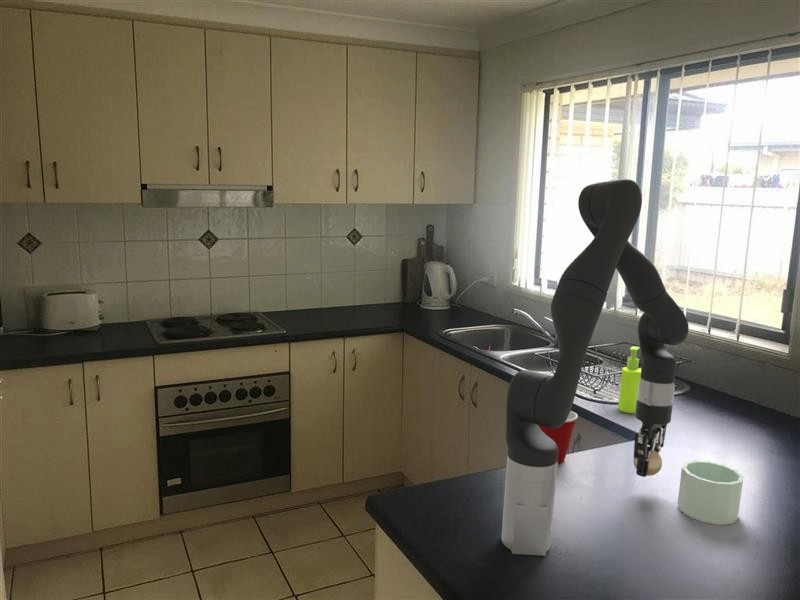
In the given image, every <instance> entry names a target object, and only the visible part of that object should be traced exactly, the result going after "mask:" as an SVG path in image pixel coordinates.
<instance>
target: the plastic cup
mask: <svg viewBox="0 0 800 600" xmlns="http://www.w3.org/2000/svg"><path fill="white" fill-rule="evenodd" d="M578 415H579V414H577V413H576V412H574V411H572V410H571V411H570V413H569V416H568V418H567V420H566V421H565V423H564V424H563V425H562V426H561V427H560V428H557V429H551V428H547V427H544V426H540V425H538V426H539V428H540V429H541V430H542V431H543V432H544V433H545V434H546V435H547V436H548V437H550V438H551V439H552V440H553V441H554V442H555V443H556V444H557V446H558V463H557V464H561V463H564V461H565V459H566V456H567V454H568V453H567V452H568V449H569V447H570V442H571V439H572V434H573V432H574V428H575V425H576V421H577V419H578V417H579V416H578Z"/></svg>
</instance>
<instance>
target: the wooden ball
mask: <svg viewBox="0 0 800 600" xmlns="http://www.w3.org/2000/svg"><path fill="white" fill-rule="evenodd" d="M658 453H659V452H658ZM658 453H657V452H656V451H655V450H654V451H652V452H651V454H650V458H649V464H648V472H647V476H646V477H648V476H649V477H651V476H655V475H657V474H658V473H659V472H660V471H661V470H662V467H663V460H662V457H661V455H660V453H659V454H658ZM641 454H643V451H642V452H641ZM637 461H638V459H637V458H634V457H633V466H634V468H635V470H637Z"/></svg>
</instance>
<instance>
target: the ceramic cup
mask: <svg viewBox="0 0 800 600" xmlns="http://www.w3.org/2000/svg"><path fill="white" fill-rule="evenodd" d="M680 471H681V472H680V478H679V487H678V489H679V490H678V497H677V507H678V509H679V510H681V511H682V512H683V513H682V512H681V511H680V512H681V513H682V514H683V515H685V516H687V517H688V516H689V518H690V517H691V519H692V518H693V520H695V519H696V520H695V521H697V520H698V522H701V523H704V522H705V524H708V523H709V524H708V525H714V526H715V525H716V526H729V525H732V523H733V524H735V523H736V522H738V517H739V515H740V506H741V499H742V491H743V484H744V478H745V477H744V476H743V474H741V473H740V472H739V471H738V470H736V469H734V468H732V467H731V466H727V465H725V464H722V463H718V462H713V461H709V460H707V461H706V460H690V461H686V462H684V463H683V465H682V466H681V470H680Z"/></svg>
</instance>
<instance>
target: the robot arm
mask: <svg viewBox="0 0 800 600" xmlns="http://www.w3.org/2000/svg"><path fill="white" fill-rule="evenodd" d="M642 193H643V192H642V189H641V187H640V185H639V184H638V183H637V182H636V181H635V180H632V179H630V178H628V179H627V178H620V179H612V180H611V179H610V180H606V181H600V182H594V183H590V184H588V185H586V186H585V187H583V188H582V190H581V191H580V193H579V196H578V201H577V202H578V203H577V205H578V206H577V207H578V211H579V214H580V217H581V219H582V221H583V223H584V224H585V226H586V227H587V229H588V230H589V232H590V234H592V236H593V237H594V238H593V239H592V240H591V242H590V243H589V244H588V245H587V246H586V247H585V248H584V249H583V250H582V251H581V252H580V253H579V255H577V257H576V258H575V259H574V260H573V261H572V262H570V264H569V265H568V266H567V267H566V268H565V269H564V271H563V273H562V275H561V277H560V278H559V280H558V283H557V287H556V289H555V292H554V294H553V298H552V301H551V303H550V315H551V319H552V324H553V327H554V331H555V335H556V339H557V344H558V350H559V351H558V360H557V363H556V368H555V371H554V374H553V375H550V374H547V373H546V374H545V373H540V372H537V371H531V370H529V369H527V370H525V369H523V370H519V371H518V372H516V373H515V375H513V377H512V378H511V380H510V383H509V386H508V390H507V395H506V406H505V407H506V410H505V411H506V412H505V413H506V415H505V416H506V417H505V419H506V420H505V421H506V422H505V423H506V424H505V425H506V426H505V441H506V446H507V454H506V455H507V456H506V457H507V459H506V468H505V469H506V470H505V471H506V472H505V484H504V497H503V499H504V500H503V509H502V510H503V512H502V527H501V536H500V537H501V538H500V540H501V543H502V545H504V547H506V548H507V549H509V550H510V551H511V554H512V555H525V556H540V557H541V556H542V557H546V556H547V552H548V551H549V550H550V548H551V545H552V544H551V543H552V531H553V520H554V509H555V508H554V506H555V496H556V484H557V474H558V471H557V470H558V464H559V463H558V446H557V444H556V443H555V442H554V441H553V440H552V439H551V438H550V437H548V436H547V435H546V434H545V433H544V432H543V431H542V430H541V429H540V428H539V426H538V425H540V426H544V427H547V428H551V429H557V428H560V427H561V426H562V425H563V424H564V423H565V421H566V420H567V418H568V416H569V413H570V411H572V408H573V404H574V401H575V397H576V395H577V394H576V393H577V391H578V390H577V389H578V386H579V381H580V377H581V374H582V369H583V366H584V362H585V358H586V356H587V355H586V354H587V352H588V349H589V346H590V344H591V343H590V342H591V340H592V337H593V335H594V331H595V328H596V326H597V324H598V321H599V319H600V316H601V313H602V311H603V308H604V305H605V302H606V299H607V296H608V292H609V289H610V286H611V283H612V280H613V277H614V274H615V272H616V271H618V274H619V276H620V278H621V279H622V281H623V283H624V286H625V288H626V291H627V292H628V294H629V296H630V298H631V300H632V303H633V304H634V306H635V307H636V308H637V309H638V310H639V311H641V312H643V313H642V314H641V316H640V318H639V320H638V325H637V334H638V341H639V347H640V349H639V350H640V355H641V368H640V369H641V376H640V381H639V385H638V392H637V401H636V410H635V413H634V416H635V418H636V419H637V420H638V421H640V422H641V423H642V425H641V427H640V428H639V430H638V432H635V434H634V443H633V444H634V446H633V459H634V458H637V459H638V461H637V469H635V471H636V473H635V474H636V475H637V476H639V477H643V478H646V477H648V476H647V472H648V464H649V458H650V454H651V452H652V451H654V450H655V451H656V452H657V453H658V454H659V455H660V452H661V450H662V448H664V445H665V437H666V432H667V428H668V427H667V426H668V425H669V424H670V423H671V421H672V414H673V405H674V397H675V380H676V379H675V377H676V371H677V360H676V359H677V358H676V357H675V356H673V355H672V354H671V353H670V352H668V351H667V349H666V346H665V345H668V346H678V345H680V344H682V343H683V342H684V341H685V340H686V339H687V338H688V336H689V335H688V334H689V321H688V319H687V316H686V314H685V313H684V312H683V310H682V309H681V307H679V305H678V304H677V302H676V301H675V300H674V299H673V297H672V296H671V295H670V294H669V293H668V292H667V289H666V287H665V285H664V282H663V281H662V278H661V276H660V273H659V271H658V270H657V268H656V266H655V265H654V264H653V262H652V261H651V260H650V259H649V258H648V257H647V256H646V255H645V254H644V253H643V252H642V251H641V250H639V249H638V248H637V247H636V246H635V245H633V244H632V243H631V242H630V240H629V239H630V236H631V235H632V232H633V231H634V229H635V227H636V224H637V222H638V220H639V218H640V214H641V212H642V211H641V210H642V206H643V205H642V204H643V194H642ZM642 451H643V454H641V452H642Z"/></svg>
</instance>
